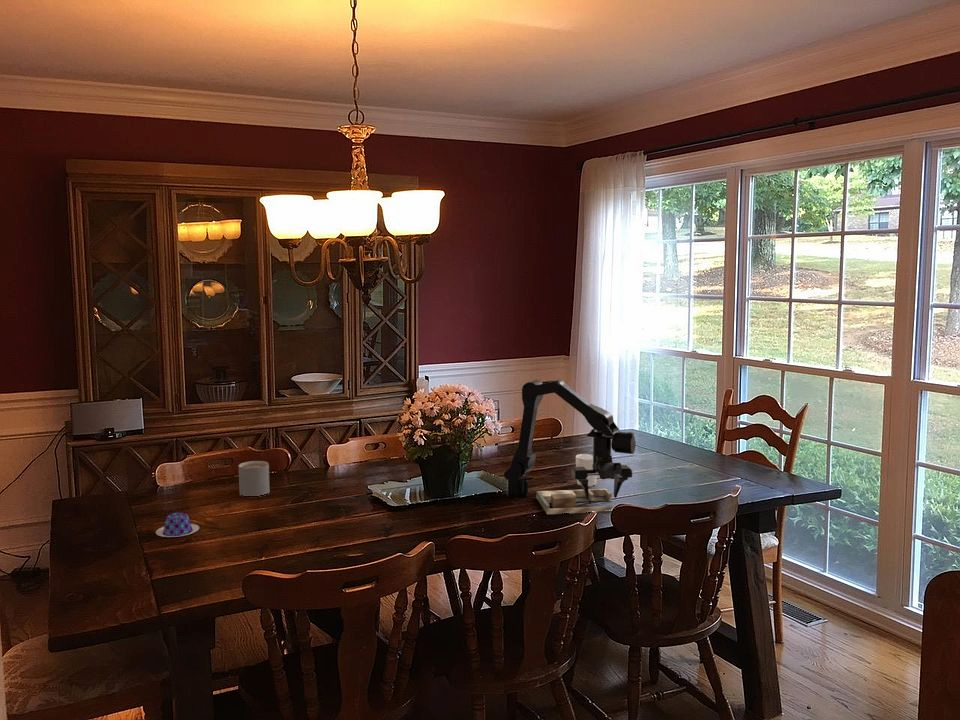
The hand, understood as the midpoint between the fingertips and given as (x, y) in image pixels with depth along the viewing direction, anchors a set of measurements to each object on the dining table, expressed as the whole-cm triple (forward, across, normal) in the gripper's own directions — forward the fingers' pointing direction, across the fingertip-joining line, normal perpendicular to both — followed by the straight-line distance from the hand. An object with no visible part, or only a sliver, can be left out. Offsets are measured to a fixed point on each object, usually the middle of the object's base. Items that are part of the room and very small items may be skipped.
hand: (601, 498), depth 257 cm
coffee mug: (+3, -114, +32) cm, 119 cm away
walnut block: (+3, -12, 0) cm, 13 cm away
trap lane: (+3, -7, +3) cm, 8 cm away
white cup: (+3, +2, +26) cm, 26 cm away
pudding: (+3, -130, -7) cm, 130 cm away
